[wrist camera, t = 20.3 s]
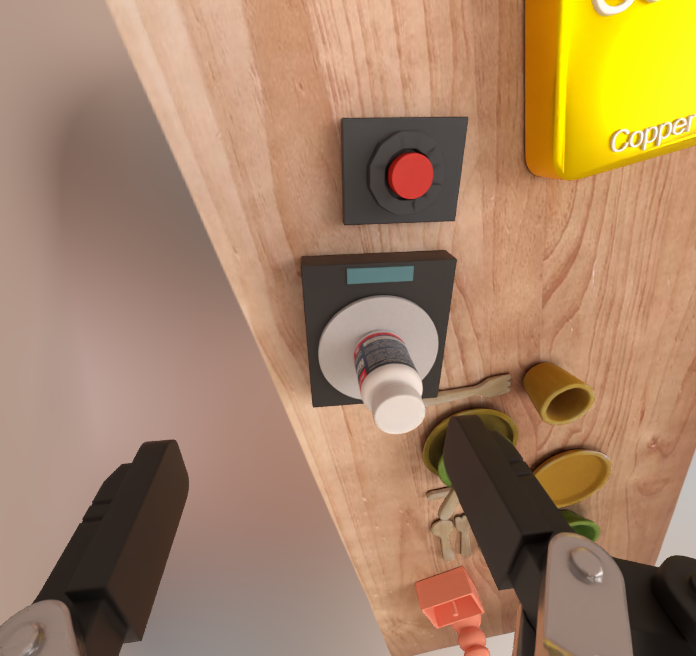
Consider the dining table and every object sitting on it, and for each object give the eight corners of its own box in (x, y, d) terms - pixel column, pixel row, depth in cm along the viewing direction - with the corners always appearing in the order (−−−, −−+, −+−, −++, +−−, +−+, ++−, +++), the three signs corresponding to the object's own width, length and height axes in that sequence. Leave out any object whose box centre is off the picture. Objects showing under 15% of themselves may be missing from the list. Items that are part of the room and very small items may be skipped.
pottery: (414, 583, 63) (431, 652, 55) (462, 566, 62) (487, 634, 53) (443, 619, 72) (461, 684, 63) (486, 604, 70) (510, 668, 62)
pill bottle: (347, 335, 32) (359, 396, 24) (401, 323, 32) (430, 380, 24) (358, 379, 35) (372, 446, 27) (408, 367, 35) (436, 431, 27)
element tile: (523, 182, 31) (557, 188, 27) (522, -43, 24) (568, -83, 19) (688, 134, 30) (748, 133, 26) (738, -111, 23) (834, -168, 19)
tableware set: (407, 387, 41) (422, 424, 35) (634, 333, 40) (686, 362, 35) (436, 563, 61) (449, 605, 55) (589, 528, 60) (618, 567, 55)
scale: (312, 390, 40) (312, 412, 36) (301, 256, 32) (300, 269, 29) (429, 381, 41) (440, 402, 37) (445, 250, 33) (460, 261, 30)
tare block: (343, 222, 31) (346, 229, 28) (340, 119, 27) (344, 116, 24) (449, 218, 32) (462, 224, 29) (461, 117, 28) (477, 115, 25)
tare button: (386, 196, 28) (391, 199, 26) (388, 152, 26) (392, 153, 25) (424, 195, 28) (431, 198, 26) (428, 152, 26) (435, 152, 25)
